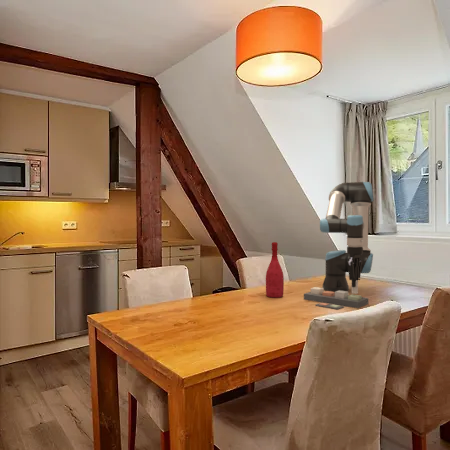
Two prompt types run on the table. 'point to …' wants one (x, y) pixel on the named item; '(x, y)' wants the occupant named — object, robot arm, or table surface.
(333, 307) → the placard
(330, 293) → the key terracotta
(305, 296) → the keypad
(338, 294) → the key beige
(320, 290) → the key ivory
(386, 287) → the table surface
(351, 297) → the key sage
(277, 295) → the wine bottle
